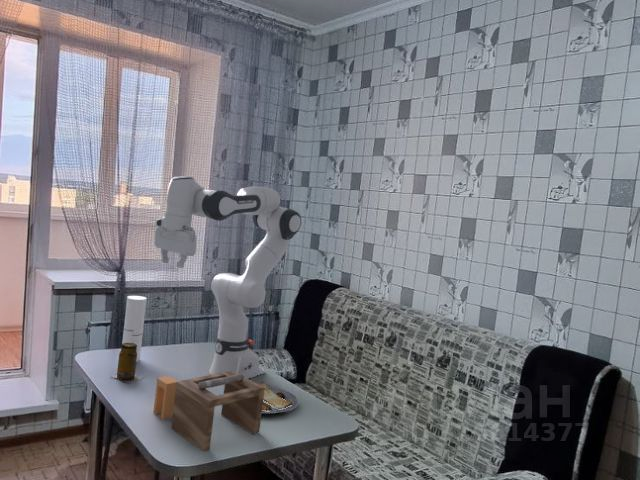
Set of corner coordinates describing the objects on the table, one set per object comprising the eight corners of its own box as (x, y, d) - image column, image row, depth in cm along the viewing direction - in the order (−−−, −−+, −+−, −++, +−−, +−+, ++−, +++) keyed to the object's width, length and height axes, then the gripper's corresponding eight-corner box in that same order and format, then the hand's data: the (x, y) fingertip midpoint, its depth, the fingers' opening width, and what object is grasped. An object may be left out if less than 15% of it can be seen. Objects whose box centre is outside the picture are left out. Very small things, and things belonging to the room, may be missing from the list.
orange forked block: (164, 410, 157) (168, 376, 156) (174, 416, 153) (178, 381, 153) (153, 412, 154) (157, 378, 153) (162, 419, 150) (166, 384, 150)
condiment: (126, 372, 184) (130, 340, 184) (143, 378, 181) (147, 346, 180) (110, 377, 178) (114, 344, 177) (127, 383, 174) (131, 350, 173)
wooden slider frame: (226, 413, 161) (232, 364, 160) (259, 432, 150) (265, 381, 149) (171, 428, 146) (177, 374, 145) (203, 451, 135) (210, 393, 134)
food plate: (214, 392, 176) (216, 383, 176) (270, 386, 190) (272, 377, 190) (249, 424, 156) (250, 413, 156) (308, 414, 171) (310, 404, 170)
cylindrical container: (123, 356, 201) (130, 295, 200) (141, 357, 202) (148, 297, 200) (118, 361, 194) (125, 298, 192) (137, 363, 195) (144, 300, 193)
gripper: (203, 228, 163) (198, 270, 163) (169, 221, 176) (164, 260, 177) (186, 227, 158) (181, 270, 159) (153, 220, 171) (148, 259, 172)
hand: (172, 265), depth 168 cm, fingers open, 8 cm apart
